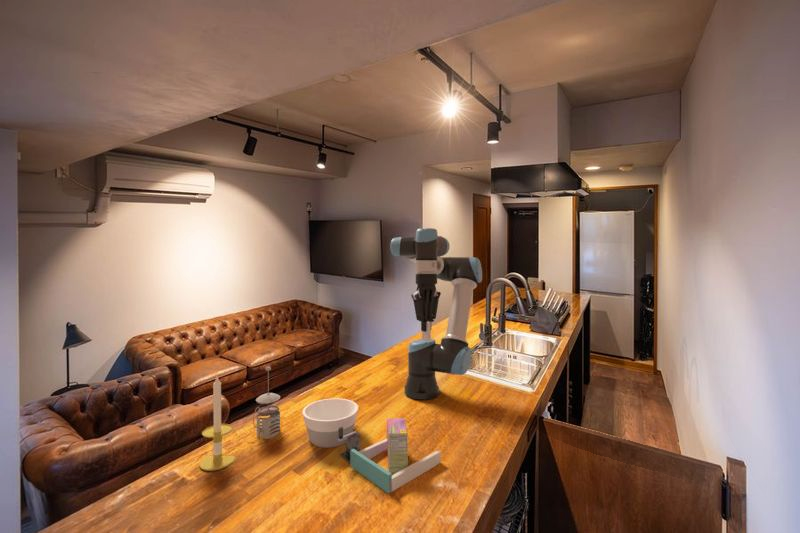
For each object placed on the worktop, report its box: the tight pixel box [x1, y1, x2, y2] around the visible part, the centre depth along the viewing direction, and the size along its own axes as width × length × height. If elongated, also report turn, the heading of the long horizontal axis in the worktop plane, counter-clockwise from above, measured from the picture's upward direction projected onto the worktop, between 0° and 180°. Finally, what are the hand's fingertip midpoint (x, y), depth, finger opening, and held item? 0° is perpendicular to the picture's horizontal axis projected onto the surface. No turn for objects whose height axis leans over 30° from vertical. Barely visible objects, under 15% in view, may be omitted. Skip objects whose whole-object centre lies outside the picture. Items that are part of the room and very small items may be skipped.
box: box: [386, 417, 409, 474], centre depth 110 cm, size 10×6×12 cm, turn 5°
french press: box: [252, 365, 281, 440], centre depth 126 cm, size 10×12×25 cm
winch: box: [338, 427, 361, 464], centre depth 113 cm, size 6×8×11 cm
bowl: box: [301, 397, 360, 448], centre depth 125 cm, size 19×19×11 cm
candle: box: [199, 376, 236, 472], centre depth 111 cm, size 10×10×27 cm
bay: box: [349, 438, 441, 495], centre depth 109 cm, size 17×21×5 cm
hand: (426, 340), depth 125 cm, fingers closed
